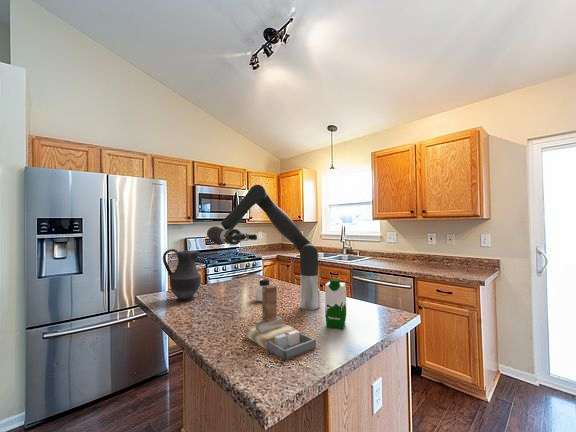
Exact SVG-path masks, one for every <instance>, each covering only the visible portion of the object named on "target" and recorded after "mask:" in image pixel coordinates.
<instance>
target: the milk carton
mask: <svg viewBox="0 0 576 432" xmlns="http://www.w3.org/2000/svg"><path fill="white" fill-rule="evenodd" d="M324 288H325V289H324V298H325V299H324V302H325V303H324V304H325V305H324V306H325V308H324V311H325V312H324V315H325V316H324V317H325V325H326V326H325V327H326V328H327V329H328V328H329V329H335V328H337V330H344V328H345V325H346V319H347V288H346V282H341V281H340V279H337V278H331V279H329V281H328V282H326V283H325V285H324Z"/></svg>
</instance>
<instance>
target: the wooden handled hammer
mask: <svg viewBox="0 0 576 432" xmlns="http://www.w3.org/2000/svg"><path fill="white" fill-rule="evenodd" d="M277 295H278V293H277V286H276V285H272V284H269V285H267V286H262V301H261V302H262V303H261V304H262V305H261V306H262V307H261V308H262V309H261V310H262V313H261V314H262V316H261V318H262V319H260V320H255V325H256V330H258V331H260V332H265V331H268V330H271V329H275V328H278V327H281V326H283V322H284V320H283V318H282V317H280V316H278V315H277V314H278V313H277V311H278V310H277V305H278V304H277Z"/></svg>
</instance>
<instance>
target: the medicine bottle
mask: <svg viewBox="0 0 576 432" xmlns="http://www.w3.org/2000/svg"><path fill="white" fill-rule="evenodd" d="M267 285H270V279H268V278H261V279H259V280H258V287H256V289H255V301H256V302H262V286H267Z"/></svg>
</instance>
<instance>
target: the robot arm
mask: <svg viewBox="0 0 576 432" xmlns="http://www.w3.org/2000/svg"><path fill="white" fill-rule="evenodd" d="M266 190H267V189H266V188H265V187H264V186H263V185H262V184H254V185H252V186H251V187H250V189H249V190H248V191H247V193H246V194H245V195H244V196H243V198H242V199H241V200H240V202H239V203H238V204H237V205H236V206H235V207H234V208H233V209H232V211H230V212H229V213H228V215H227V216H226V217H224V219H222V221H221V222H220V224H221V226H222V227H219V226H212V227H210V228H209V229H208V230H207V232H206V236H207V238H208V239H210V241H212V242H213V243H214V244H216V245H217V246H221V245H224V244H225V245H233V246H237V245H239V244H240V243H241V242H247V241H248V242H249V241H256V240H257V239H258V235H257V234H255V233H254V234H251V233H244V232H241V231H240V229H236V228H235V227H236V226H237V225H238V224H239V223H240V222H241V221H242V219H244V217H245V215H247V213H248V211H250V209H251V208H252V207H253V206H255V205H256V206H258V207H259V208H260V209H261V210H262V211H263V212H264V213H265V214H266V216H267V218H268V219H269V221H270V222H271V224H273V226H274V227H275V228H276V229H277V231H278V232H279V233H280V234H281V235H282V236H283V237H284V238H286V239H287V240H288V241H289V242H290V243H291V244H292V245H294V246H295V247H294V248H296V250H297V251H298V253H299V261H300V262H299V264H300V265H299V267H300V268H299V271H300V308H301V309H303V310H307V311H308V310H309V311H312V310H313V311H314V310H317V309H319V308H320V307H321V301H320V300H321V296H320V295H321V293H320V292H321V291H320V288H319V252H318V248H317V247H316V246H315V245H314V244H313V243H312V242H311V241H309V239H307V237H305V236H304V234H303V233H302V231H301V230H300V229H299V227H298V226H297V225H296V224H295V223H296V222H294V221H293V219H292V218H290V216H289V215H288V214H287V212H285V211H284V210H283V209H282V208H280V207H279V206H278V205H276V203H275V201H273V200H272V198H271V197H270V195H269V194H268V193H267V191H266Z"/></svg>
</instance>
